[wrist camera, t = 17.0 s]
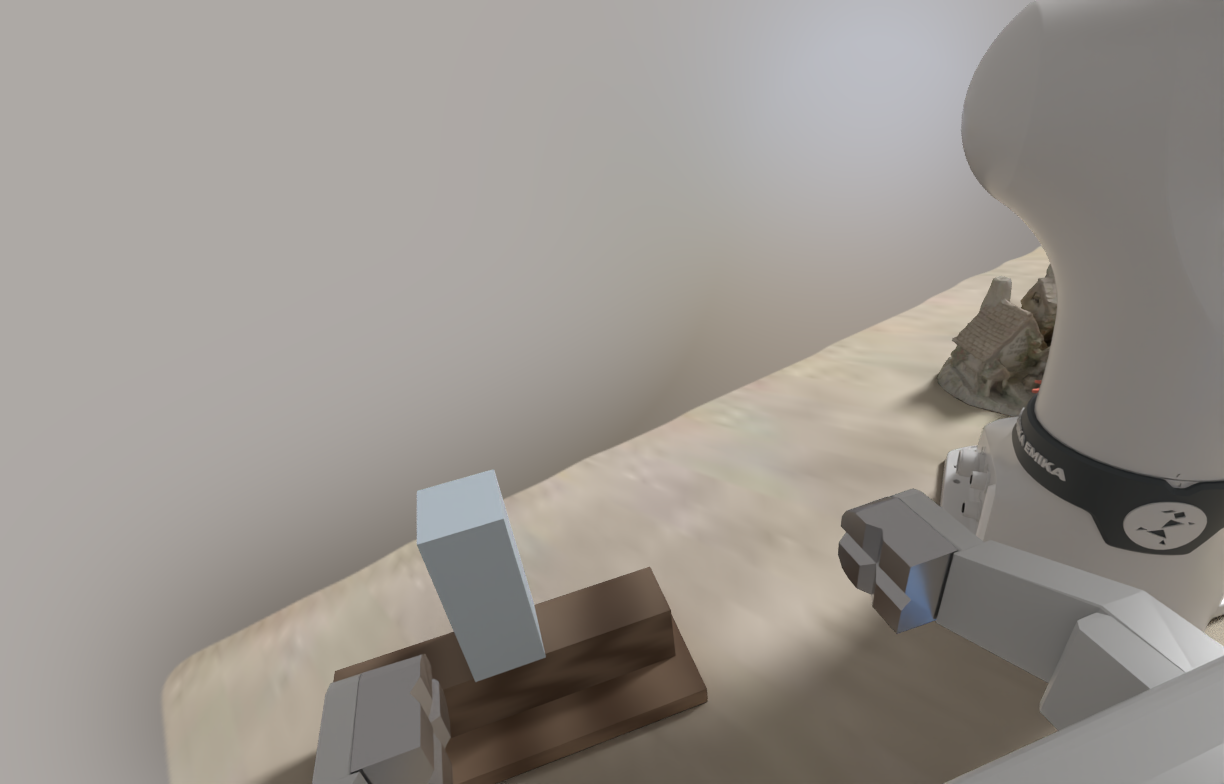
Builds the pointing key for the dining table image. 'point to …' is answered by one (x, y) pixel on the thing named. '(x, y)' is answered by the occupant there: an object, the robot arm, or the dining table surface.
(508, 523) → the pillar
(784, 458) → the dining table surface
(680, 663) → the stand
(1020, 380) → the ceramic cottage
